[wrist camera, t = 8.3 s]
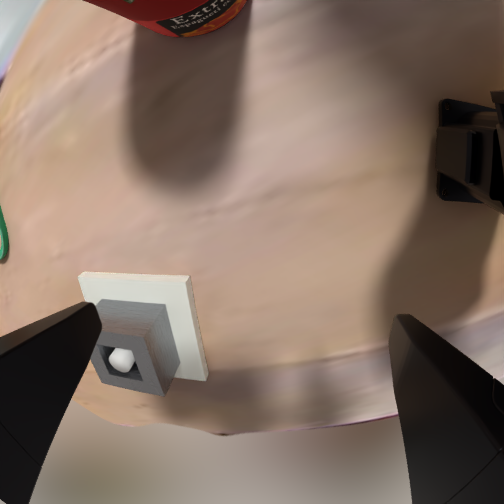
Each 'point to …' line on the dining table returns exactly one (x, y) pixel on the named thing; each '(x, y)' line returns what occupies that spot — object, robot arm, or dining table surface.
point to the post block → (161, 292)
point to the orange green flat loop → (3, 236)
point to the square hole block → (136, 345)
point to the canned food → (175, 14)
